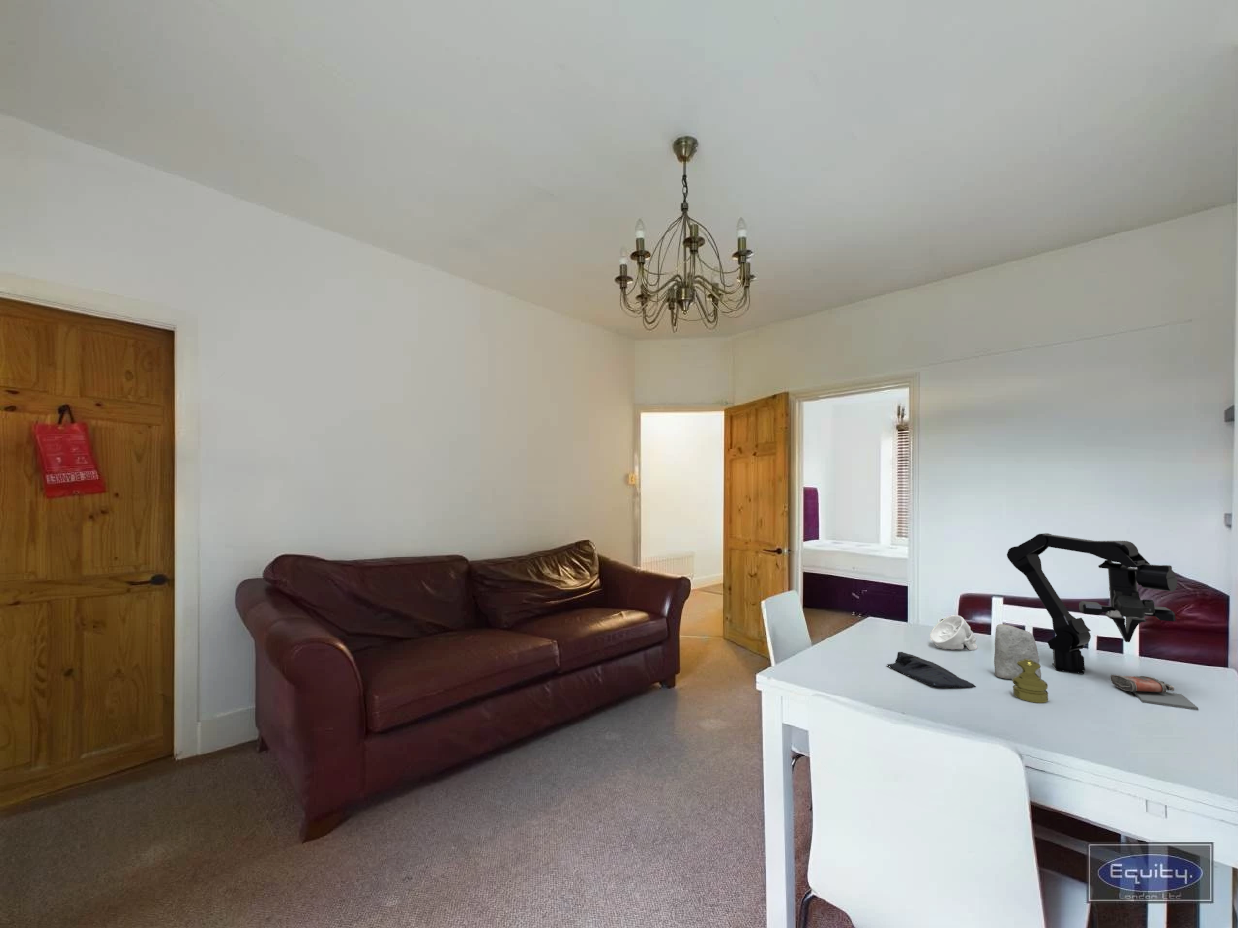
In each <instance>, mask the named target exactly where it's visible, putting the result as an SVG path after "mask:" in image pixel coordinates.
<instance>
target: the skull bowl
mask: <svg viewBox="0 0 1238 928" xmlns="http://www.w3.org/2000/svg"><path fill="white" fill-rule="evenodd" d="M929 639H930V640H931V642H932V643H933V644H934V645H935V646H937V647H938V648H940V649H941V648H942V650H947V649H951V650H964V647H965V646H966V648H967V649H968V650H969V651H976V650H978V649H979V647H978V645H977V644H976V641H977V636H975V634H974V632H973V630H971V626H970V625H969V623H967V621H966V620H965V619H964V617H962V616H961V615H957V614H952V615H948V616H946V617H945V618H944V619H942V620H941V621H939V622H938V623H937V624H935V625H934V627H933V628H932V630H931V631H930V634H929ZM951 650H950V651H951Z"/></svg>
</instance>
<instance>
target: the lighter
mask: <svg viewBox="0 0 1238 928" xmlns="http://www.w3.org/2000/svg"><path fill="white" fill-rule="evenodd" d="M1110 682H1111V683H1112V685H1114V686H1115V687H1117V688H1119V689H1121V690H1123V691H1126V692H1132V691H1134V692H1135V691H1150V692H1158V693H1166V692H1168V691H1172V692H1173V691H1175V686H1174V685H1171V684H1168V683H1165V681H1162V680H1159V679H1157V678H1155V677H1151V676H1142V675H1141V676H1138V675H1133V676H1132V675H1131V676H1129V675H1126V676H1125V675H1120V674H1111V675H1110Z"/></svg>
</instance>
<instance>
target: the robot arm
mask: <svg viewBox="0 0 1238 928" xmlns="http://www.w3.org/2000/svg"><path fill="white" fill-rule="evenodd" d="M1049 548H1053V549H1054V548H1055V549H1058V550H1059V549H1060V550H1066V551H1071V552H1072V551H1073V552H1078V553H1086V554H1088V555H1092V556H1095V557H1098V558H1100V559H1103V560H1104V561H1103V562H1102V563H1101V564H1099V565H1098V566H1097V567H1098V568H1099V569H1107V572H1108V574H1107V575H1108V590H1109V599H1110V602H1109V605H1102V604H1100V603H1098V602H1097V601H1085V600H1081V601H1080V602H1079V604H1078V607H1079V608H1078V609H1079V611H1080V612H1081V613H1082V614H1085V615H1092V616H1099V615H1101V614H1102V613H1105V616H1106V617H1107V618H1109V619H1110V620H1112V621H1113V622H1114V624H1115V625H1116V627H1117V629H1118V631H1119V633H1120V635H1121V637H1122V639H1123V641H1124V642H1125V643H1131V640H1132V638H1133V635H1134V633H1135V631H1136V629H1137V627H1138V626H1139V625H1140V624H1141V623H1146V622H1147V620H1146V619H1145V618H1146V617H1156V619H1158V620H1159V621H1165V622H1176V614H1175V612H1174V611H1173V610H1172V609H1169V608H1167V607H1165V606H1156V605H1155V602H1154V601H1153V600H1152V599H1141V598H1140V594H1139V591H1138V590H1139V589H1138V586H1140V587H1142V588H1143V589H1148V590H1155V591H1156V590H1157V591H1165V592H1171V593H1172V592H1173V593H1174V592H1175V591H1176V590H1177V586H1178V577H1177V576H1176V573H1175V572H1174V570H1173V566H1172V565H1170V564H1169V565H1167V564H1166V565H1165V564H1162V565H1159V564H1151V563H1150V562H1148V560H1147V559H1145V558H1144V556H1143V555H1142V554H1141V553H1140V552H1139V549H1138V547H1137V546H1136V545H1135V544H1134V542H1131V541H1128V540H1094V539H1093V540H1092V539H1091V540H1090V539H1085V538H1077V537H1070V536H1065V535H1064V536H1062V535H1056V534H1052V533H1047V532H1045V533H1038V534H1036V535H1035V536H1034V537H1032V538H1030V539H1028V540H1026V541H1025V542H1022V543H1020V544H1019V545H1017V546H1012V547H1010V548H1009V549H1008V550H1007V553H1006V557H1007V560H1009V562H1010V563H1011V564H1012V565H1013V567H1014V568H1015V569H1017V570H1018V571H1019V572H1021V573H1022V574H1023V575H1024V576H1025V577H1026V579H1027V581H1028V582H1029V584H1030V585H1031V587H1032V589H1033V590H1034V592H1035V593H1036V595H1037V597H1038V598H1039V600H1040V601H1041V603H1042V605H1043V606H1044V608H1045V610H1046V612H1047V613H1048V614H1049V616H1050V618H1051V620H1052V622H1051V623H1052V630H1053V632H1054V634H1055V636H1053V637H1052V638H1051V639H1049V640H1048V641H1047V644H1048V647H1049V649H1050V650H1052V658H1053V659H1052V660H1053V662H1052V666H1053V668H1054V669H1055V670H1056V671H1057V672H1067V673H1073V674H1082V675H1084V674H1085V671H1086V669H1085V666H1086V665H1085V657H1084V656H1083V655H1082V651H1081V650H1083V649H1084V647H1085V645H1087V644H1088V643H1089V642H1090V640H1091V638H1092V636H1091V633H1090V632H1091V629H1090V628H1089V627H1088V626H1087V624H1086V623H1085V621H1084V619H1083V617H1077V618H1076V617H1075V616H1073V615H1072V613H1070V612H1069V610H1068V608H1067V607H1066V605H1065V603H1063V601H1062V600H1061V598H1060V596H1059V595H1058V593H1057V591H1056V590H1055V588H1054V587H1053V586H1052V584H1051V582H1050V581H1049V579H1048V578H1047V576H1046V574H1045V572H1044V571H1043V568H1042V561H1041V558H1040V555H1042V554H1043V553H1044V552H1045V551H1046V550H1047V549H1049Z"/></svg>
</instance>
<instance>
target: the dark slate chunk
mask: <svg viewBox="0 0 1238 928" xmlns="http://www.w3.org/2000/svg"><path fill="white" fill-rule="evenodd" d="M887 665H888V666H890V667H892V668H891V669H893V668H894V669H893V670H895V669H896V670H897V672H898V671H899V672H898V673H900V672H902V673H904V674H903V675H905V674H906V675H905V676H907V675H909V676H908V677H910V676H911V677H910V678H913V679H914V678H916V679H915V680H916V681H919V680H920V682H921V681H922V683H923V684H925V683H926V685H929V686H932V687H935V688H956V689H957V688H961V689H970V688H971V689H972V688H976V686H977V685H975V684H974V683H972V682H970V681H968V680H966V679H963V678H961V677H959V676H957V675H956V674H955V673H953V672H951V671H950V670H948V669H946V668H944V667H943V666H941V665H939V664H936V663H935V662H933V661H930V660H927V659H924V658H922V657H919V656H917V655H915V654H910V653H907V652H904V651H898V652H897V654H896V658H895V661H894V662H893V663H887V664H886V666H887ZM888 666H887V667H888ZM896 670H895V671H896ZM902 673H901V674H902Z"/></svg>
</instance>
